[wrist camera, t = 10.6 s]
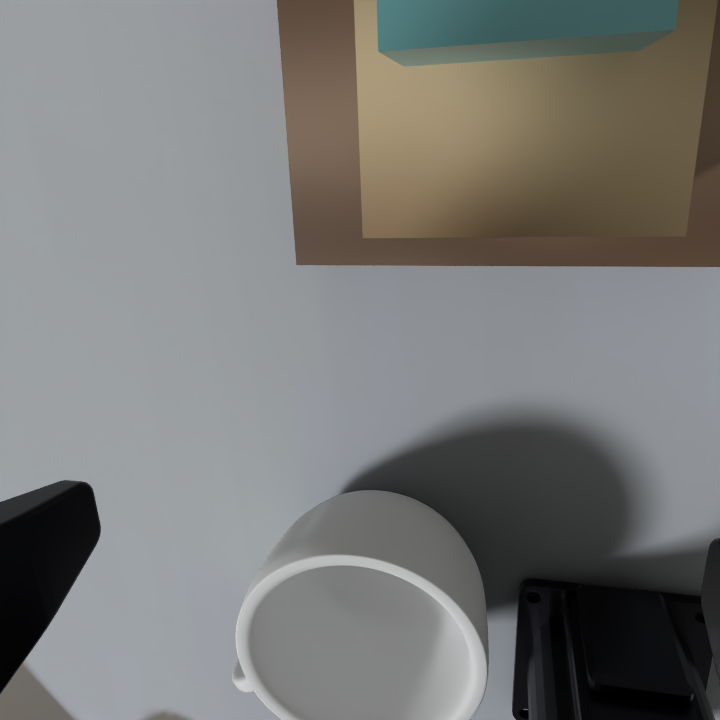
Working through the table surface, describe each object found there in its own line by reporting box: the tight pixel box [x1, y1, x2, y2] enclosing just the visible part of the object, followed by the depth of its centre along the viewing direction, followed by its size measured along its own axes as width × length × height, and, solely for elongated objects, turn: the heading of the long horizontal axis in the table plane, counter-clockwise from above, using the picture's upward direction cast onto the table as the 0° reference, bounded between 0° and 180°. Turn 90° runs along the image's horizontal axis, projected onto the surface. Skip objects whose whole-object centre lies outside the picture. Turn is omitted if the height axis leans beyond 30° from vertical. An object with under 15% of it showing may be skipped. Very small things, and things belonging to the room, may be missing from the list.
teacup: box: [232, 490, 489, 720], centre depth 22 cm, size 10×8×5 cm
